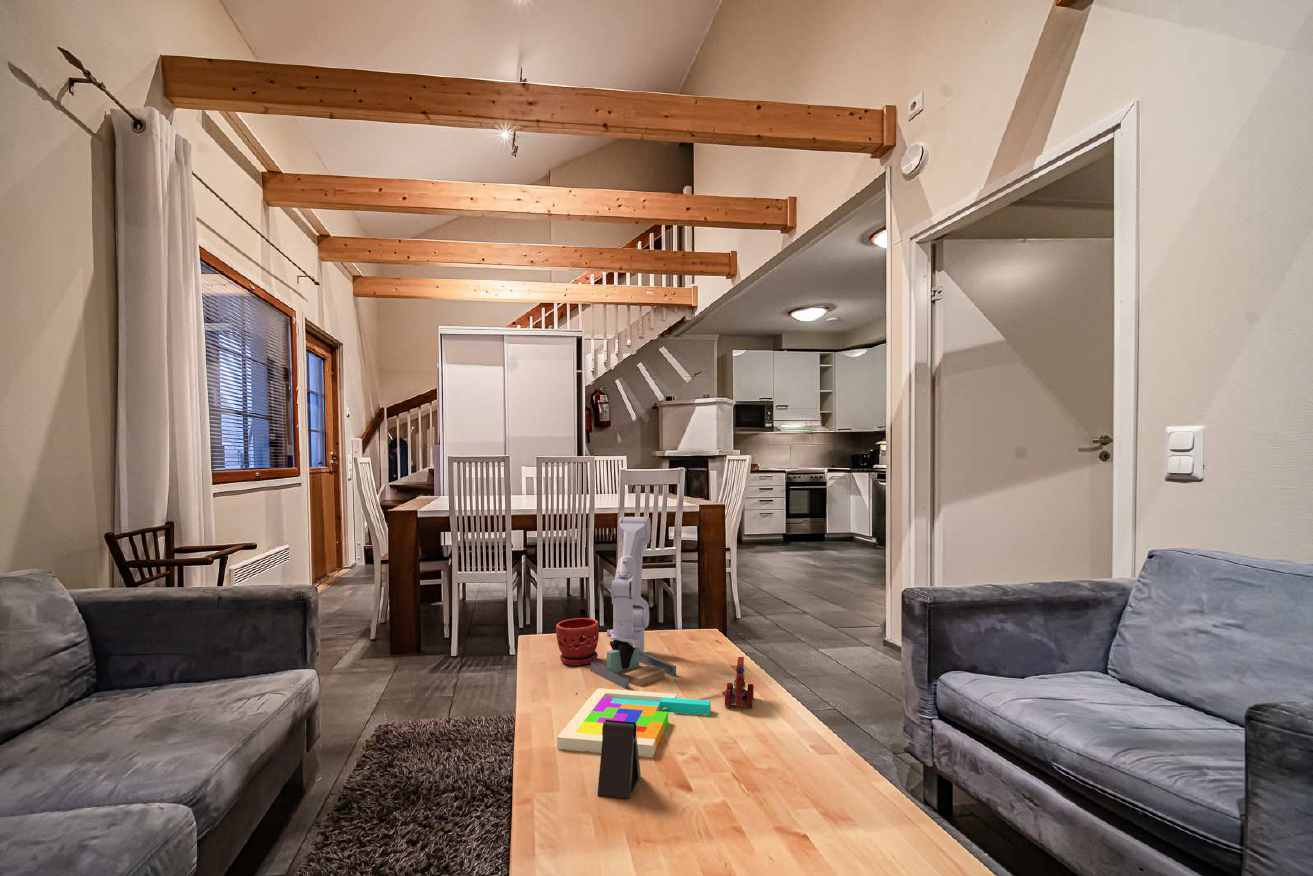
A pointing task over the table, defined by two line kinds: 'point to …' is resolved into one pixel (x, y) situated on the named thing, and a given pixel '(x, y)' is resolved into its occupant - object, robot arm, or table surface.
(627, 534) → the robot arm
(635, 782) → the phone stand
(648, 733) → the puzzle game
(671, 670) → the rack
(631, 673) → the offcut upper
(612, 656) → the teal board
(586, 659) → the plant pot
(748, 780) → the table surface
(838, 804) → the table surface
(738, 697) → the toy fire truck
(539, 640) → the table surface
